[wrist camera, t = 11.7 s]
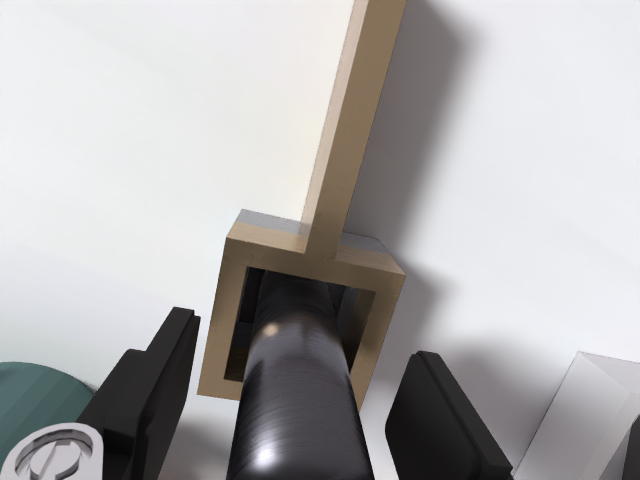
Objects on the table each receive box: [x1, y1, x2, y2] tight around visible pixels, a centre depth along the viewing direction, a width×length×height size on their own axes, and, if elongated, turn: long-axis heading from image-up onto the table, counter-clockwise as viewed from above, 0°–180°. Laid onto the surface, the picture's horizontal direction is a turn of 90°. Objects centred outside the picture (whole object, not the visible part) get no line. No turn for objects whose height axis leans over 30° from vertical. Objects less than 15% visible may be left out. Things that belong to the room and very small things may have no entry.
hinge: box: [197, 0, 407, 412], centre depth 14 cm, size 26×6×4 cm, turn 166°
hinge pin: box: [226, 270, 375, 480], centre depth 12 cm, size 3×3×10 cm
